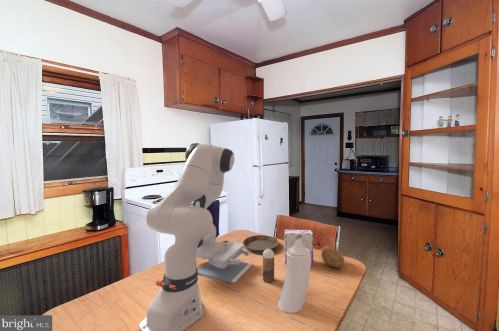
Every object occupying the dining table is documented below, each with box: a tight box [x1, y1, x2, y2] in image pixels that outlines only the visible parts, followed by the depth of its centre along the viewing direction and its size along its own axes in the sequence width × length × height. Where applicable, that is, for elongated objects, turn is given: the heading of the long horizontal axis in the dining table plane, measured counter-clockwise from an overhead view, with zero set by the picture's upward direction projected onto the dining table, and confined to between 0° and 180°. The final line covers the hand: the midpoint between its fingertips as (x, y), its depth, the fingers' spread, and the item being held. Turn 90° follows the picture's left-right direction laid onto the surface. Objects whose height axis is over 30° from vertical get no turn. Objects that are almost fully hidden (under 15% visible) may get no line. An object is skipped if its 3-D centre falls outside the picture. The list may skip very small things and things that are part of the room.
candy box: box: [284, 229, 314, 266], centre depth 124 cm, size 14×6×16 cm, turn 84°
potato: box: [320, 245, 345, 269], centre depth 121 cm, size 10×14×8 cm
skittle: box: [262, 249, 275, 284], centre depth 109 cm, size 5×5×14 cm
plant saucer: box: [242, 234, 279, 254], centre depth 145 cm, size 21×21×3 cm
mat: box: [197, 260, 254, 285], centre depth 119 cm, size 18×22×1 cm
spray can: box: [277, 240, 312, 314], centre depth 92 cm, size 12×11×25 cm
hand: (244, 257), depth 114 cm, fingers open, 8 cm apart
